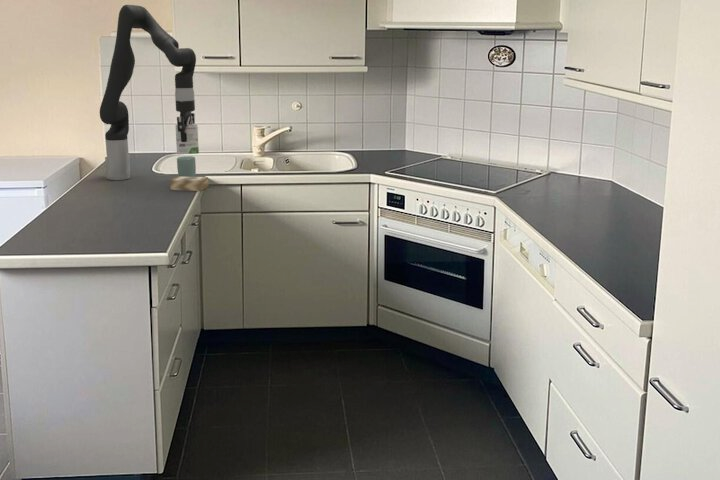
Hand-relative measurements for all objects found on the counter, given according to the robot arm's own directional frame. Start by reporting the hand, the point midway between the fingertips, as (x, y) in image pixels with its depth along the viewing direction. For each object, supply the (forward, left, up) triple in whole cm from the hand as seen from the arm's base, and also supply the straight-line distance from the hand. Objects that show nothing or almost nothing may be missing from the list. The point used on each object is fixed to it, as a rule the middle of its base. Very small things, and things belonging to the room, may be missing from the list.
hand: (187, 140), depth 348 cm
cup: (-7, +16, -20) cm, 27 cm away
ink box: (0, 0, -5) cm, 5 cm away
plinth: (0, 0, -20) cm, 20 cm away
